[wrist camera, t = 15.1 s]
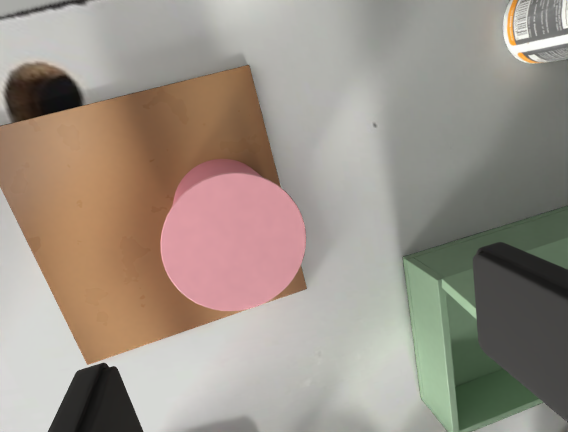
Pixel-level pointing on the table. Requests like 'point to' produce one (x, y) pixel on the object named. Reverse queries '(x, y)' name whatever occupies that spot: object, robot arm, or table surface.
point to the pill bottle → (537, 30)
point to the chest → (466, 329)
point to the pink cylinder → (231, 237)
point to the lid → (462, 283)
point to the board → (126, 200)
